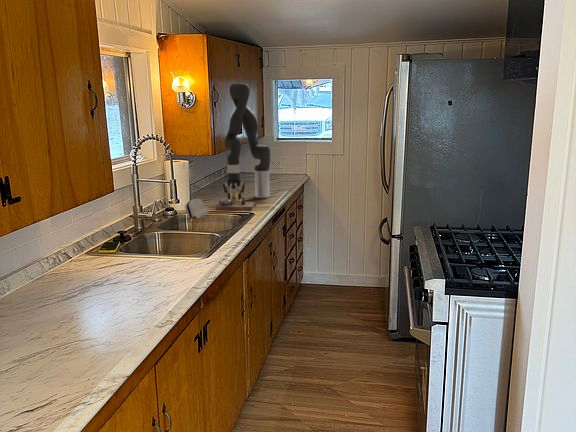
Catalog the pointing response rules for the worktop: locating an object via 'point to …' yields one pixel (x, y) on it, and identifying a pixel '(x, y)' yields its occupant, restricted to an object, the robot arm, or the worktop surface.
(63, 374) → the worktop surface
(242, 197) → the carrier pin
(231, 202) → the sun gear
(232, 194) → the planet gear
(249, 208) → the carrier
